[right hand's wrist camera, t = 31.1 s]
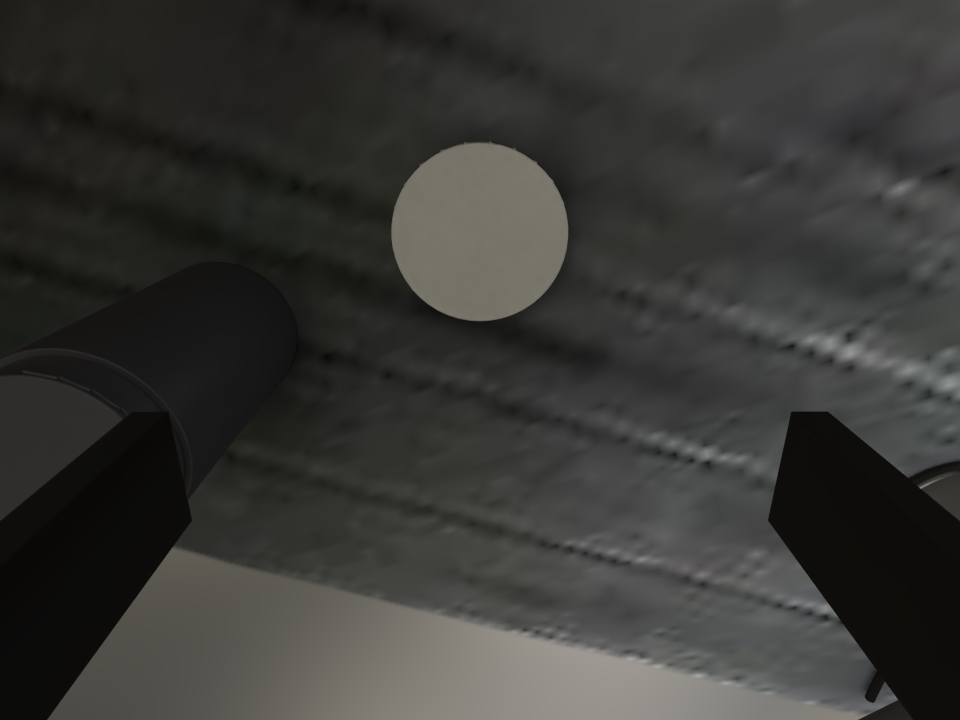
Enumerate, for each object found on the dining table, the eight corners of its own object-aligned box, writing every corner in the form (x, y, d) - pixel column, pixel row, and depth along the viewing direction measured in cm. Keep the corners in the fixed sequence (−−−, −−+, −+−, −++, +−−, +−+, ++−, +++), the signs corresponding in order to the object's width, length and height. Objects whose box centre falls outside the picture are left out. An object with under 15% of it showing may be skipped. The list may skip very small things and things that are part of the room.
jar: (292, 405, 46) (169, 590, 28) (155, 382, 45) (-63, 556, 27) (303, 276, 42) (169, 392, 24) (154, 248, 41) (-100, 346, 23)
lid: (430, 110, 38) (427, 110, 36) (593, 182, 40) (600, 186, 37) (372, 275, 42) (366, 284, 40) (523, 334, 43) (525, 345, 41)
